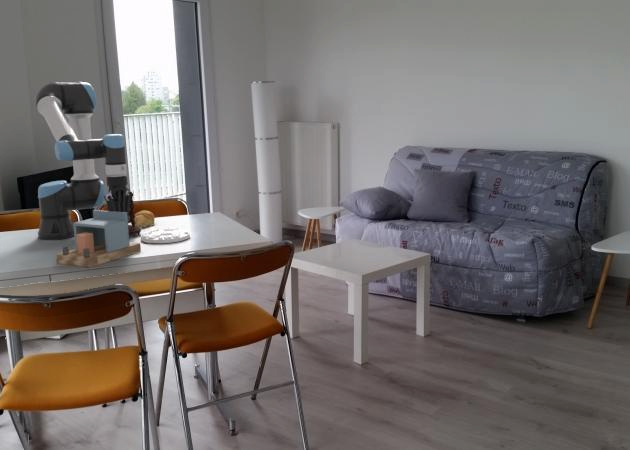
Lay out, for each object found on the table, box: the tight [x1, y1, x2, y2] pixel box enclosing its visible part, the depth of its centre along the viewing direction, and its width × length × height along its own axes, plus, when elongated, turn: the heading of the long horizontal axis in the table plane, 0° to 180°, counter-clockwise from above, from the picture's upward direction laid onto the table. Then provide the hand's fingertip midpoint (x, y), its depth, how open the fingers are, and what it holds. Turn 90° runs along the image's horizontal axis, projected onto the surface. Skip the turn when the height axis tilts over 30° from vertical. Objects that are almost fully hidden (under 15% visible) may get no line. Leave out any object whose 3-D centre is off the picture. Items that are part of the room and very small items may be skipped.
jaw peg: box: [76, 232, 95, 255], centre depth 228 cm, size 4×4×10 cm
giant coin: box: [140, 227, 190, 244], centre depth 263 cm, size 20×20×3 cm
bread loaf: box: [134, 209, 155, 229], centre depth 293 cm, size 21×10×8 cm, turn 4°
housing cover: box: [72, 209, 130, 253], centre depth 234 cm, size 16×11×13 cm
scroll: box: [127, 188, 142, 236], centre depth 269 cm, size 15×15×20 cm
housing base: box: [55, 241, 142, 268], centre depth 234 cm, size 16×26×6 cm, turn 154°
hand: (121, 236), depth 244 cm, fingers closed
